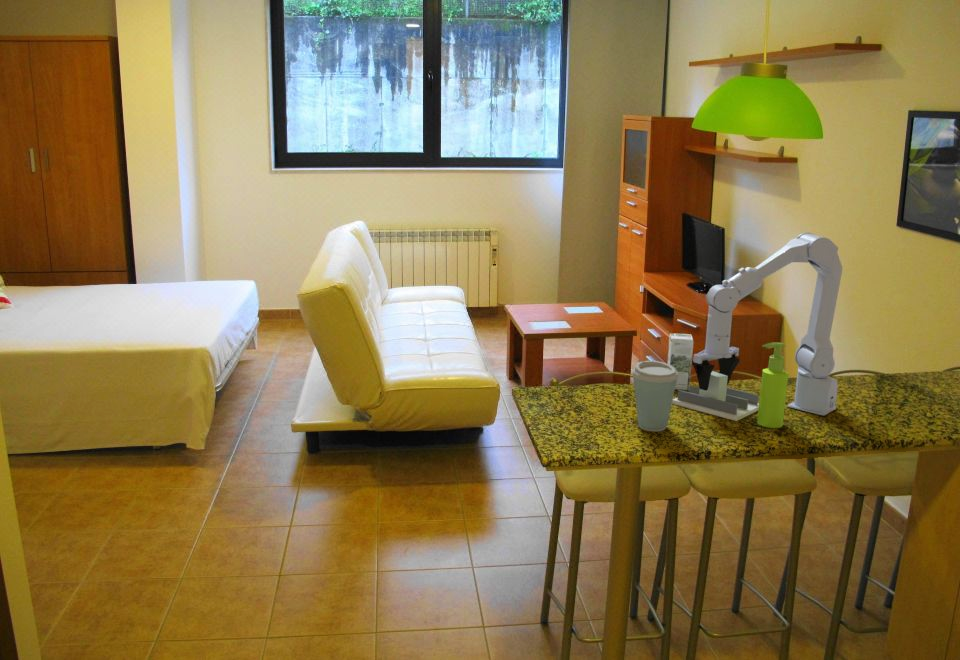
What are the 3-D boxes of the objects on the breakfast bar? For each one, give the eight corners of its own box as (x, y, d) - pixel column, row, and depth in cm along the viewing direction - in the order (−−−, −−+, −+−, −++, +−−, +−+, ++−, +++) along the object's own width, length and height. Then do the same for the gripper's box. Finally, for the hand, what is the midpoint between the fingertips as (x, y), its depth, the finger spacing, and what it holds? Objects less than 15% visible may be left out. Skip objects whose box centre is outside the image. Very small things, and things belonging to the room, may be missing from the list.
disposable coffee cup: (684, 430, 209) (689, 368, 205) (649, 438, 203) (654, 375, 200) (652, 417, 217) (657, 357, 214) (618, 424, 212) (622, 363, 208)
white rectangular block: (698, 402, 226) (700, 371, 224) (706, 400, 228) (708, 369, 226) (716, 408, 222) (719, 377, 220) (724, 406, 223) (727, 375, 221)
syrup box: (686, 385, 244) (691, 333, 240) (689, 391, 238) (693, 338, 235) (665, 383, 244) (669, 332, 241) (667, 390, 239) (671, 337, 235)
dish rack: (762, 408, 226) (764, 394, 225) (736, 421, 216) (738, 407, 215) (699, 391, 238) (700, 379, 237) (671, 403, 228) (672, 390, 227)
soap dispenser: (748, 421, 216) (756, 341, 211) (771, 418, 219) (779, 339, 214) (764, 429, 211) (773, 347, 206) (788, 426, 213) (797, 345, 209)
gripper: (711, 341, 213) (706, 395, 216) (750, 333, 221) (745, 386, 225) (688, 335, 219) (684, 388, 222) (728, 327, 227) (723, 379, 230)
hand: (713, 386), depth 224 cm, fingers open, 7 cm apart
